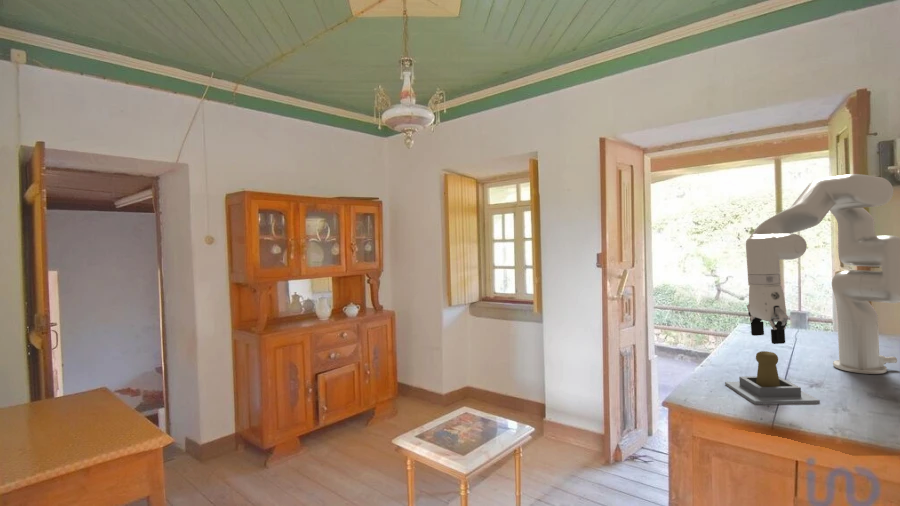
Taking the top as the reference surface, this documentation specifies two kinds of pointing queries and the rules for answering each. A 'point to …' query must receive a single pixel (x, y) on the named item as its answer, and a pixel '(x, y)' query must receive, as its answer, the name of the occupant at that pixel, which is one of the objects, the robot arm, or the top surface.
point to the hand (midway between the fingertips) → (767, 339)
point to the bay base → (771, 392)
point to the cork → (767, 369)
